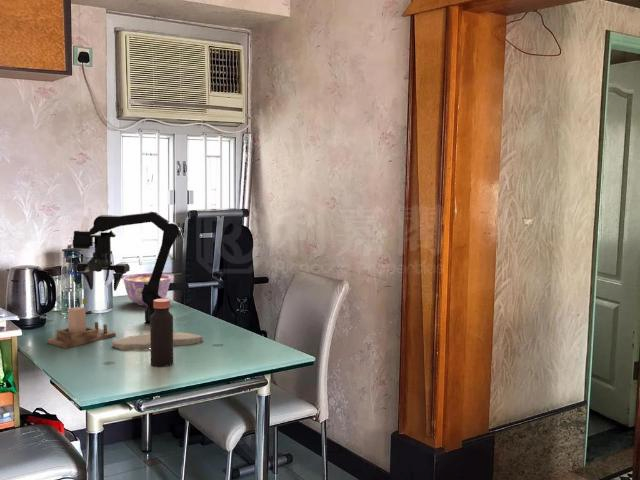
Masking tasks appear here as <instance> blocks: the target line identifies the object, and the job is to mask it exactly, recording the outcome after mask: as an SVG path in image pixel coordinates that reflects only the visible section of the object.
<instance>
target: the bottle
mask: <svg viewBox="0 0 640 480" xmlns="http://www.w3.org/2000/svg"><path fill="white" fill-rule="evenodd" d="M153 307H154V309H155V312H154V313H153V314H152V315H151V317H150V324H149V326H150V333H149V334H150V336H151V349H150V364H151V366H153V367H156V366H157V368H158V367H159V368H161V367H163V368H164V367H168V366H171V365H172V364H174V346H173V332H174V315H173V314H172V313H171V312H170V308H171V299H169V298H164V299H155V300H153Z"/></svg>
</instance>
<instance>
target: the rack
mask: <svg viewBox="0 0 640 480" xmlns="http://www.w3.org/2000/svg"><path fill="white" fill-rule="evenodd" d="M116 336H117V334H116V332H114V331H111V330H108V325H107V324H105V323H104V324H103V327H102V328H99V321H95V322H94V328H93V327H88V326H86V331H84V332H80V333H75V334H73V333H70V332H69V327H66V328H62V329H58V330H56V337H54V338H53V337H52V338H47V344H50V345H54V346H56V347H57V346H58V347H60V348H64V349H68V348H71V347H76V346H80V345H84V344H88V343H93V342H97V341H101V340H105V339H109V338H113V337H116Z"/></svg>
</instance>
